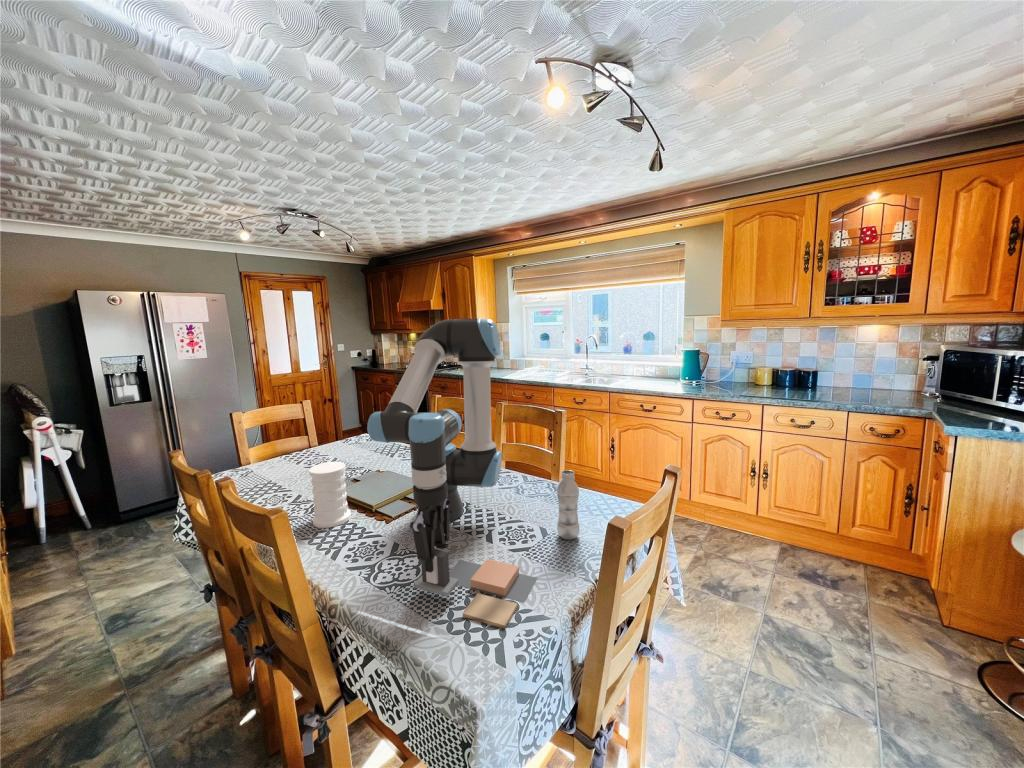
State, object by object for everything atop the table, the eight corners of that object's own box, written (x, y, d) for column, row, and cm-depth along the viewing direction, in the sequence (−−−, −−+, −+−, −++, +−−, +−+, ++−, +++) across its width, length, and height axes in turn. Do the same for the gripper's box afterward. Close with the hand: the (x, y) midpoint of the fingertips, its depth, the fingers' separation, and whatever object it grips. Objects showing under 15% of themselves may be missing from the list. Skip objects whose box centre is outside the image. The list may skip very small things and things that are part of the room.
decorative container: (338, 508, 141) (334, 459, 138) (358, 516, 134) (353, 465, 132) (306, 521, 132) (300, 469, 129) (325, 531, 125) (319, 476, 122)
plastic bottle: (574, 544, 115) (574, 478, 112) (553, 538, 118) (552, 473, 115) (583, 534, 120) (583, 470, 117) (562, 529, 124) (562, 466, 120)
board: (462, 618, 87) (462, 613, 87) (477, 597, 93) (477, 593, 93) (505, 630, 83) (505, 625, 83) (517, 608, 90) (517, 603, 89)
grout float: (413, 587, 93) (411, 554, 92) (426, 574, 98) (424, 542, 96) (447, 596, 90) (445, 562, 88) (458, 583, 94) (456, 550, 93)
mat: (441, 582, 99) (440, 580, 99) (460, 561, 108) (460, 559, 108) (524, 604, 91) (524, 602, 91) (537, 579, 99) (537, 577, 99)
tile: (470, 579, 96) (504, 588, 92) (486, 558, 104) (519, 566, 101) (470, 587, 96) (505, 596, 93) (487, 566, 104) (519, 574, 101)
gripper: (424, 500, 81) (431, 603, 85) (461, 472, 95) (466, 562, 99) (394, 494, 84) (402, 595, 88) (434, 468, 98) (440, 556, 102)
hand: (436, 577), depth 93 cm, fingers closed on grout float, 2 cm apart
